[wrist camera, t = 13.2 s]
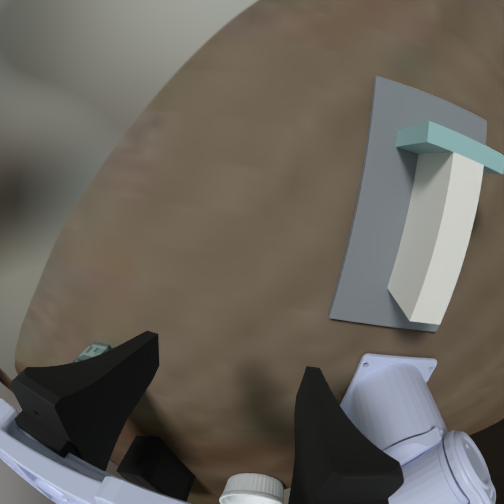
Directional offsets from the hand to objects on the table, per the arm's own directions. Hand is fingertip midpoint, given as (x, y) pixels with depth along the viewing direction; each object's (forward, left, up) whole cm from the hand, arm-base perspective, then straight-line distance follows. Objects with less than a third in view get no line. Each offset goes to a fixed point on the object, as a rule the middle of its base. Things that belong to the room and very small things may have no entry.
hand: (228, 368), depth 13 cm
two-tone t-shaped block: (+7, -11, -9) cm, 16 cm away
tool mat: (+8, -11, -9) cm, 17 cm away
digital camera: (-30, +9, -10) cm, 32 cm away
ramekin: (-31, -5, -10) cm, 33 cm away
